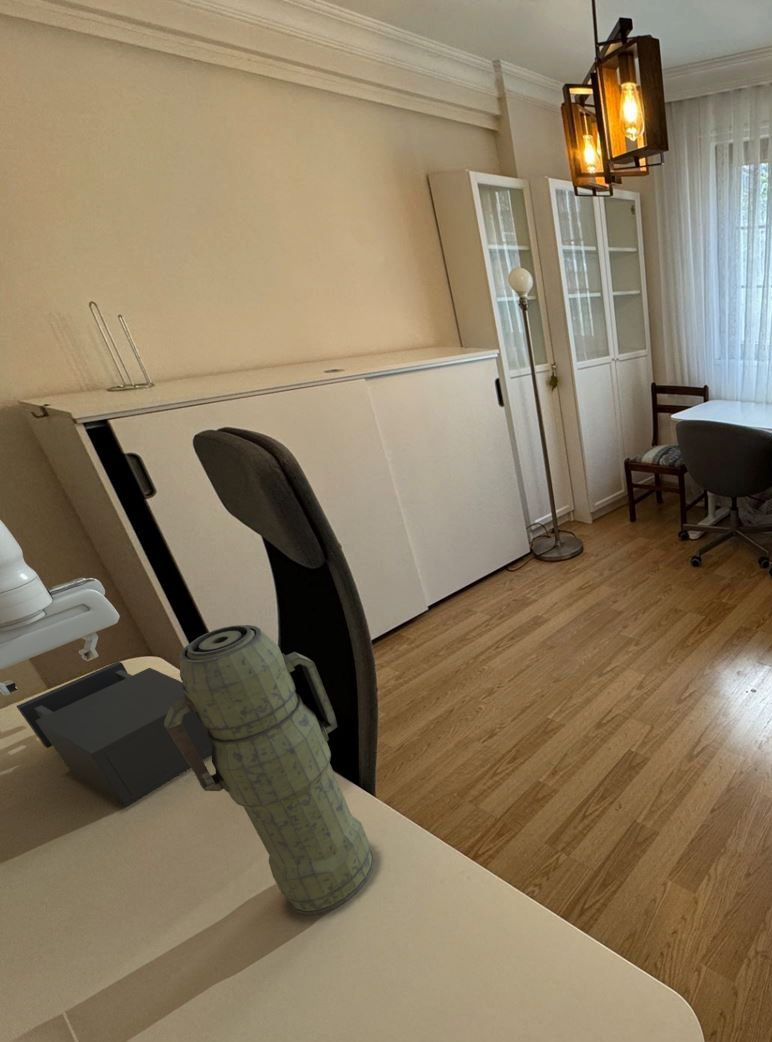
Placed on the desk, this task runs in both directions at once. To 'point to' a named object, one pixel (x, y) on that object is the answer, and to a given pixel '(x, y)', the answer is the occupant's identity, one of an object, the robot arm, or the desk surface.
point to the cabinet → (125, 736)
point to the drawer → (69, 695)
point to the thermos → (273, 762)
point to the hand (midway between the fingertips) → (53, 674)
